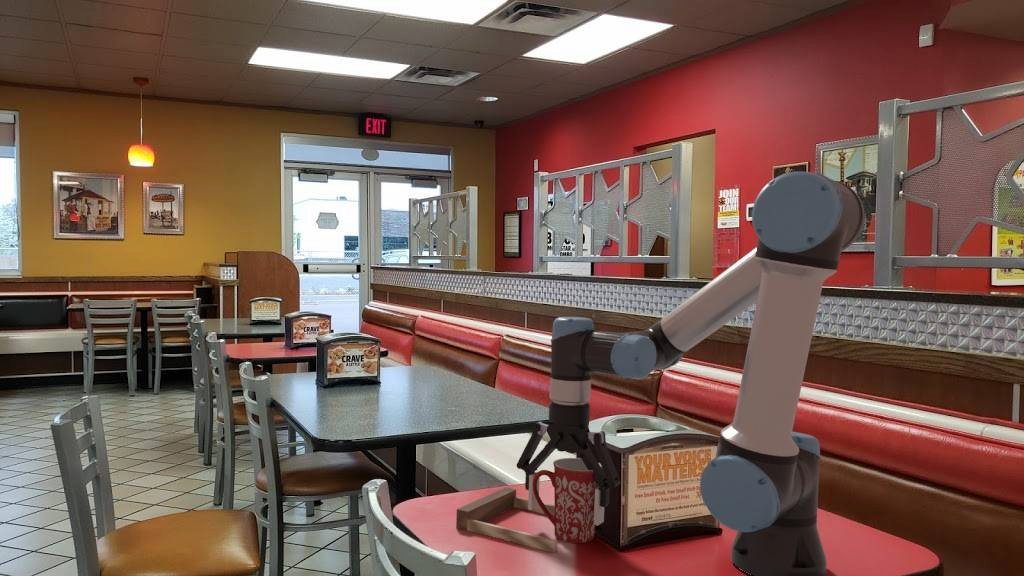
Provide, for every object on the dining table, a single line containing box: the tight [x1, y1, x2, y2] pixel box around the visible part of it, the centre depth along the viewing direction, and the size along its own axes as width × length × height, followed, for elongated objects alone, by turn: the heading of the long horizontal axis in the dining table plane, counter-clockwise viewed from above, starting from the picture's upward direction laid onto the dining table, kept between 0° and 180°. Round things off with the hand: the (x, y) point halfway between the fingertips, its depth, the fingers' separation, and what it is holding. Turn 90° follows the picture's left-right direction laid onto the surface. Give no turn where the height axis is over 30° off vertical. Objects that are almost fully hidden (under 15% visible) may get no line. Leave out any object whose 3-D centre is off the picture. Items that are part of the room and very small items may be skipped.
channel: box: [455, 486, 558, 554], centre depth 141 cm, size 21×17×4 cm
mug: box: [533, 457, 602, 544], centre depth 137 cm, size 13×9×14 cm
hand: (565, 515), depth 137 cm, fingers open, 13 cm apart
